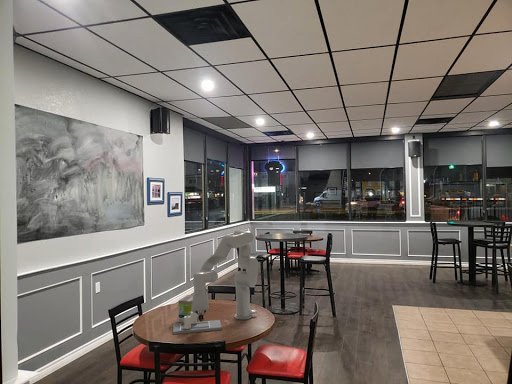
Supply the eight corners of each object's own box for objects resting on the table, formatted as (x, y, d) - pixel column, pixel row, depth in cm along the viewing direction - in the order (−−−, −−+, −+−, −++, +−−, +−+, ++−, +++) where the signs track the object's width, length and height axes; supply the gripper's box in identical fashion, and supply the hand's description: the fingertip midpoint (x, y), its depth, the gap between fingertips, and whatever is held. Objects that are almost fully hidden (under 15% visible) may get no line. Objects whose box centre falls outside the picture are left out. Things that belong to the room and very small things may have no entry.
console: (219, 322, 235) (219, 319, 235) (221, 329, 221) (221, 326, 221) (173, 326, 229) (173, 323, 229) (172, 334, 215) (172, 331, 215)
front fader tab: (190, 326, 222) (190, 314, 222) (190, 328, 219) (190, 316, 219) (184, 327, 221) (184, 315, 221) (184, 329, 218) (184, 317, 218)
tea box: (192, 323, 234) (191, 301, 234) (178, 322, 236) (177, 300, 236) (200, 315, 249) (199, 295, 249) (186, 315, 251) (186, 294, 251)
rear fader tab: (197, 321, 230) (196, 310, 231) (197, 323, 227) (197, 312, 228) (190, 322, 230) (190, 311, 230) (191, 324, 227) (190, 312, 227)
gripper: (211, 289, 227) (212, 317, 227) (188, 291, 224) (189, 320, 224) (212, 292, 220) (213, 321, 220) (188, 294, 217) (189, 324, 217)
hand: (201, 320), depth 222 cm, fingers closed
